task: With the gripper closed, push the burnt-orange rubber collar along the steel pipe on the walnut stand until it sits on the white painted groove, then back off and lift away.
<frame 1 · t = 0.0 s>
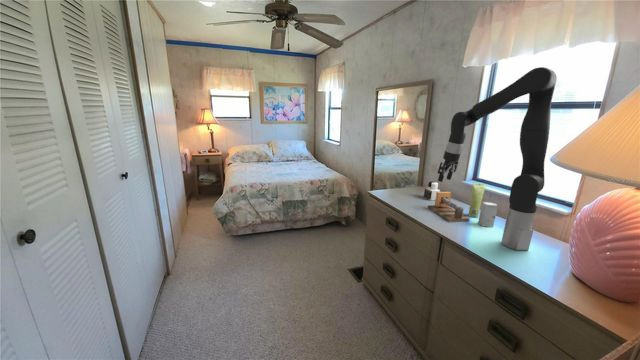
hand: (444, 180, 139), 22 cm above the dresser top, tool pointing down, fingers open, 8 cm apart
collar: (442, 199, 156), point 7 cm above the dresser top, slide at 6.0 cm
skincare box: (485, 225, 138), on the dresser top
medicine bottle: (431, 199, 180), on the dresser top
pipe stand: (447, 214, 152), on the dresser top
tube: (473, 216, 150), on the dresser top
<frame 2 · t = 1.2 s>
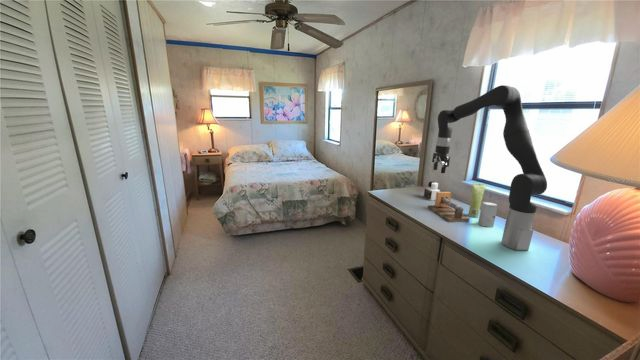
hand: (438, 171, 158), 23 cm above the dresser top, tool pointing down, fingers open, 8 cm apart
nothing on the dresser top moved.
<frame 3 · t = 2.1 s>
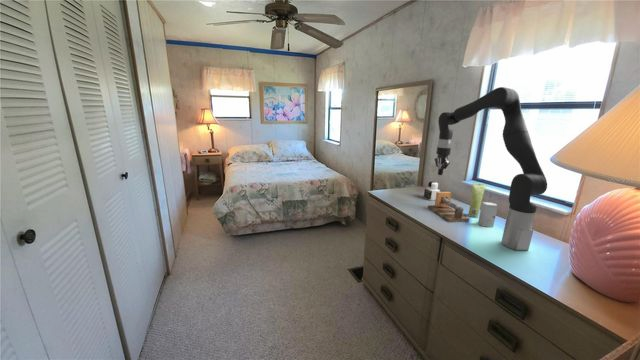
hand: (440, 174, 159), 21 cm above the dresser top, tool pointing down, fingers closed
nothing on the dresser top moved.
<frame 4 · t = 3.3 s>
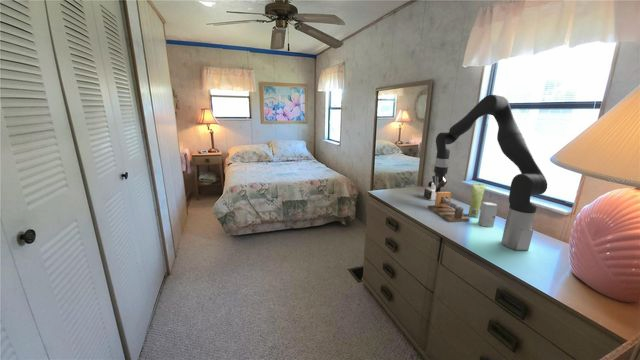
hand: (437, 192, 162), 9 cm above the dresser top, tool pointing down, fingers closed
nothing on the dresser top moved.
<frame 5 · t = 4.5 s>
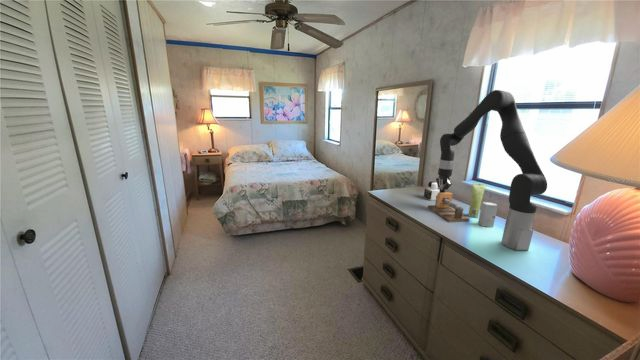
hand: (441, 195, 157), 9 cm above the dresser top, tool pointing down, fingers closed
collar: (444, 199, 155), point 7 cm above the dresser top, slide at 4.6 cm, touching gripper
everything else where it was.
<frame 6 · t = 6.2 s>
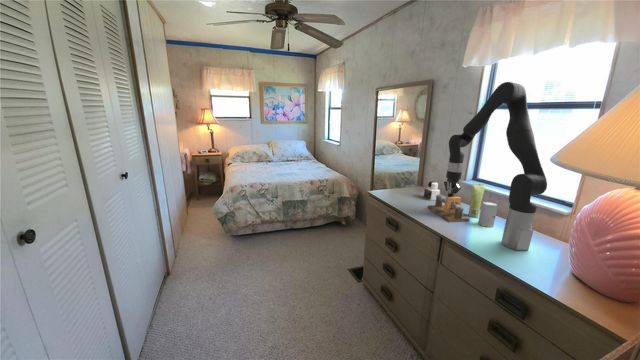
hand: (449, 199, 149), 9 cm above the dresser top, tool pointing down, fingers closed
collar: (452, 204, 147), point 7 cm above the dresser top, slide at -3.6 cm, touching gripper
everything else where it was.
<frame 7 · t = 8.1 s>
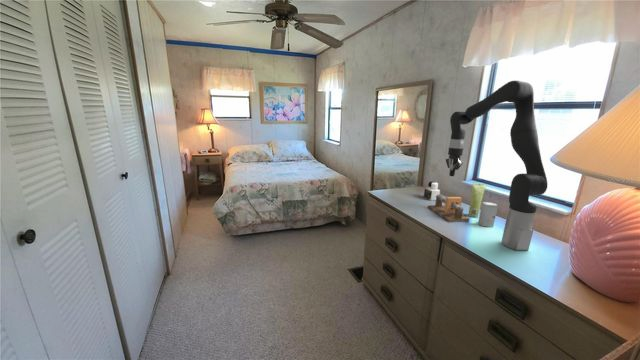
hand: (451, 175, 154), 21 cm above the dresser top, tool pointing down, fingers closed
collar: (453, 204, 146), point 7 cm above the dresser top, slide at -3.9 cm
everything else where it was.
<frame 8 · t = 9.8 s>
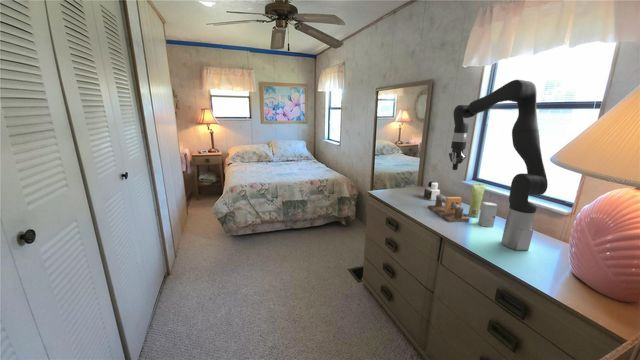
hand: (454, 169, 154), 25 cm above the dresser top, tool pointing down, fingers closed
nothing on the dresser top moved.
at the end: collar slide at -3.9 cm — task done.
